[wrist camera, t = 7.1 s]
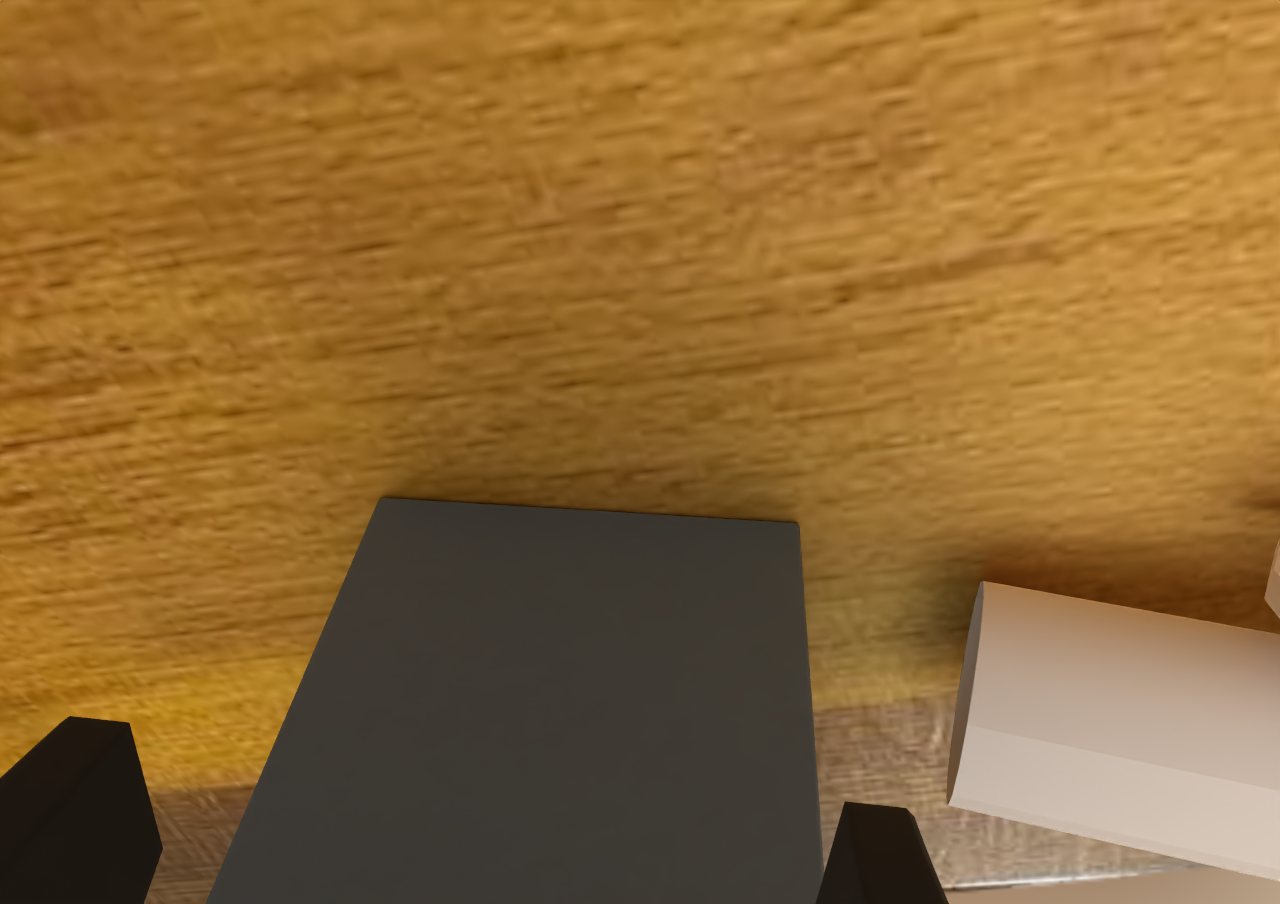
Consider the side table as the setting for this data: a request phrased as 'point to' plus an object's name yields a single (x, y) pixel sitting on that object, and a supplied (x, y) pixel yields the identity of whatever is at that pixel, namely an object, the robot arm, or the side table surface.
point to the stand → (546, 719)
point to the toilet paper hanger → (1122, 726)
